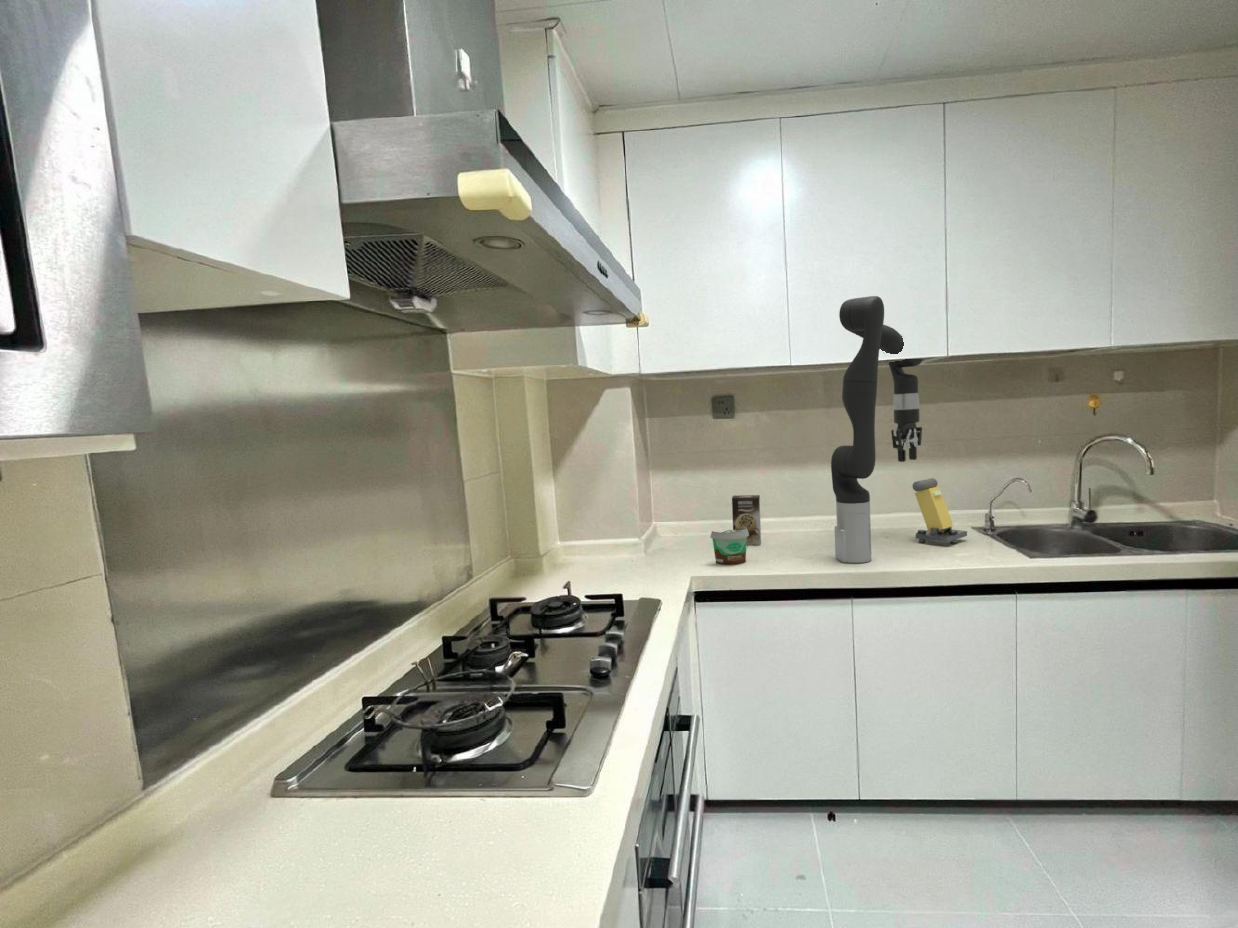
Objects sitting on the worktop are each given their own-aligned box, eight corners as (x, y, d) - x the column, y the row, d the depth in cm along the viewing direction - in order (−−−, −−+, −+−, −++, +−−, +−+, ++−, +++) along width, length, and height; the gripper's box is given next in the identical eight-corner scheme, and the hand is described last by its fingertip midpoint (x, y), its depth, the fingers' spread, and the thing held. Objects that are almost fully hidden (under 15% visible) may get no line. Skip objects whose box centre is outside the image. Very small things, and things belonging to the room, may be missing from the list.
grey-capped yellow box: (943, 531, 203) (924, 478, 206) (927, 535, 207) (908, 483, 210) (958, 526, 208) (939, 475, 211) (942, 530, 212) (923, 480, 216)
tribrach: (947, 547, 201) (946, 531, 200) (915, 542, 209) (915, 527, 208) (967, 540, 208) (966, 524, 207) (936, 536, 216) (935, 521, 215)
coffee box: (733, 545, 221) (730, 497, 219) (734, 541, 227) (732, 495, 225) (761, 545, 218) (759, 497, 217) (761, 541, 225) (759, 494, 223)
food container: (722, 568, 193) (720, 534, 192) (711, 564, 198) (710, 531, 197) (758, 562, 197) (756, 529, 196) (746, 558, 203) (745, 526, 202)
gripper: (904, 408, 204) (905, 463, 206) (929, 406, 212) (930, 458, 214) (882, 409, 210) (883, 462, 212) (907, 407, 218) (909, 458, 220)
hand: (907, 460), depth 213 cm, fingers open, 5 cm apart
